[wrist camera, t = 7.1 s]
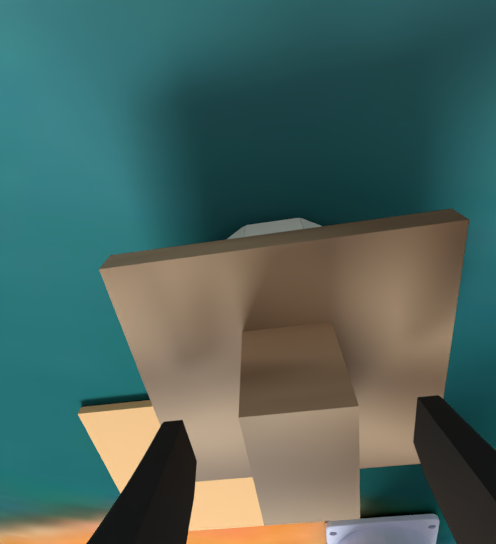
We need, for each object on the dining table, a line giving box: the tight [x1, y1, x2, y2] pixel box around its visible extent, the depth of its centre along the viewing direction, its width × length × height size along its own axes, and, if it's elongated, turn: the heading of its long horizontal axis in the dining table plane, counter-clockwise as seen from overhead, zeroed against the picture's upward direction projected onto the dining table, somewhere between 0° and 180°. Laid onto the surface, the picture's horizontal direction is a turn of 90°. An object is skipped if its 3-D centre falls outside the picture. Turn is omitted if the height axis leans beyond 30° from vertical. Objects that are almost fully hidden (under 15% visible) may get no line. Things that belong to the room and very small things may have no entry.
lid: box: [99, 209, 469, 526], centre depth 12 cm, size 11×11×4 cm
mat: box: [78, 400, 309, 531], centre depth 23 cm, size 13×13×1 cm
